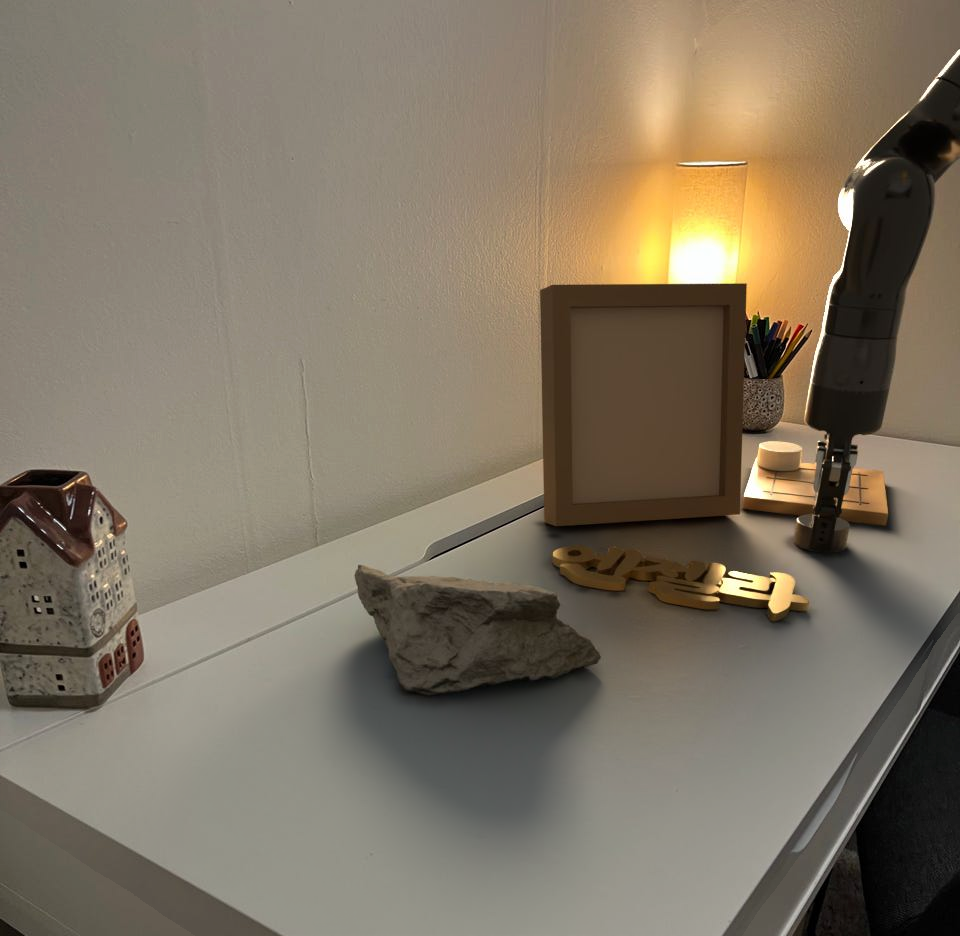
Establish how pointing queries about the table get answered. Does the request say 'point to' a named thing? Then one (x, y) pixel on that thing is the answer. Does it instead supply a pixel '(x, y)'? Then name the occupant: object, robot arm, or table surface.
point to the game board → (798, 497)
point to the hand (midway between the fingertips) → (819, 539)
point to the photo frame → (642, 401)
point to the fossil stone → (469, 631)
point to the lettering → (680, 580)
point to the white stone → (779, 456)
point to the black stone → (804, 533)
